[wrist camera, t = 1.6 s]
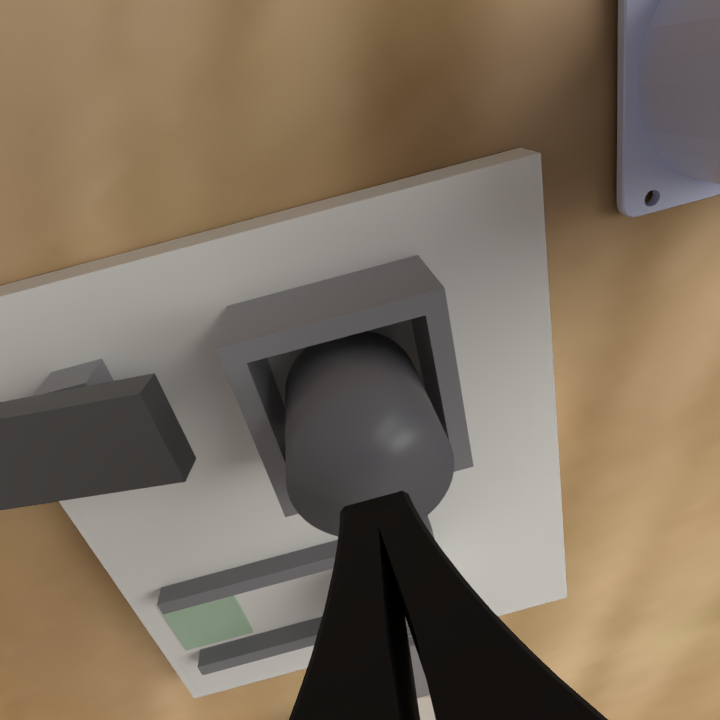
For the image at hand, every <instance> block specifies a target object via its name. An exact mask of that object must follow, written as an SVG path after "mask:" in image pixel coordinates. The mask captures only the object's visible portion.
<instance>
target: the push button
mask: <svg viewBox="0 0 720 720" xmlns="http://www.w3.org/2000/svg"><path fill="white" fill-rule="evenodd" d="M285 437H286V488H287V492H288V496H289V499H290V501H291V503H292V505H293V507H294V508H295V510H296V511H297V512H298V514H299V515H300V516H301V517H302V518H303V519H304V520H305V521H307V522H308V523H309V524H311V525H312V526H314V527H315V528H317V529H319V530H321V531H323V532H325V533H328V534H331V535H334V536H338V535H339V525H340V511H341V510H342V509H343V507H344V506H348V505H351V504H355V503H359V502H362V501H366V500H370V499H374V498H377V497H381V496H385V495H388V494H392V493H396V492H399V491H404V492H406V493H408V494H409V496H410V498H411V501H412V503H413V505H414V507H415V509H416V510H417V512H418V514H419V516H420V517H421V519H424V518H425V517H426V516H427V515H428V514H430V513H431V512H432V511H433V510H434V509H435V508H436V507H437V506H438V505H439V503H440V502H441V501H442V499H443V498H444V496H445V495H446V493H447V491H448V489H449V487H450V484H451V481H452V478H453V473H454V454H453V450H452V446H451V444H450V442H449V440H448V438H447V435H446V433H445V431H444V429H443V427H442V425H441V423H440V421H439V418H438V416H437V414H436V412H435V410H434V408H433V406H432V403H431V401H430V399H429V397H428V395H427V393H426V391H425V388H424V386H423V384H422V382H421V380H420V378H419V376H418V374H417V371H416V369H415V367H414V365H413V363H412V361H411V359H410V357H409V356H408V354H407V353H406V352H405V350H404V349H403V348H402V347H401V346H400V345H398V344H397V343H396V342H395V341H393V340H392V339H390V338H388V337H386V336H384V335H382V334H379V333H376V332H372V331H365V332H361V333H358V334H354V335H350V336H346V337H343V338H339V339H335V340H332V341H328V342H324V343H320V344H317V345H313V346H309V347H307V348H305V349H304V350H303V351H302V352H301V353H300V355H299V356H298V357H297V358H296V360H295V361H294V363H293V364H292V366H291V368H290V370H289V373H288V376H287V380H286V387H285Z"/></svg>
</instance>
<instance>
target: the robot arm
mask: <svg viewBox="0 0 720 720" xmlns="http://www.w3.org/2000/svg"><path fill="white" fill-rule="evenodd" d="M651 190H652V193H653V195H652V198H651V200H650V201H649V202H648V203H646V204H645V201H644V200H645V196H646V195H647V193H648V192H650V191H651ZM716 195H720V0H618V89H617V208H618V210H619V212H620V213H621V214H623V215H626V216H629V217H638V216H642V215H645V214H649V213H653V212H657V211H660V210H664V209H668V208H672V207H675V206H679V205H683V204H687V203H690V202H694V201H698V200H701V199H705V198H709V197H713V196H716ZM405 617H406V619H405ZM406 620H407V623H408V626H409V629H410V632H411V635H412V638H413V641H414V644H415V647H416V650H417V653H418V656H419V659H420V662H421V665H422V668H423V671H424V674H425V677H426V680H427V684H428V689H429V693H430V697H431V701H432V706H433V710H434V714H435V719H436V720H608V719H606V718H605V717H604V716H603V715H602V714H601V713H600V712H598V711H597V710H596V709H595V708H594V707H593V706H591V705H590V704H589V703H588V702H587V701H586V700H585V699H583V698H582V697H581V696H580V695H579V694H578V693H576V692H575V691H574V690H573V689H572V688H571V687H570V686H568V685H567V684H566V683H565V682H564V681H563V680H561V679H560V678H559V677H558V676H557V675H556V674H555V673H554V672H553V671H552V670H551V669H550V668H549V667H548V666H547V665H545V664H544V663H543V662H542V661H541V660H540V659H539V658H538V657H537V656H536V655H535V654H534V653H533V652H532V651H531V650H530V649H529V648H528V647H527V646H526V645H525V644H524V643H523V642H522V641H521V640H520V639H519V638H518V637H517V636H516V635H515V634H514V633H513V632H512V631H511V630H510V629H509V628H508V627H507V626H506V625H505V624H504V623H503V622H502V621H501V620H500V618H499V617H498V616H497V615H496V614H495V613H494V612H493V611H492V610H491V609H490V608H489V606H488V605H487V604H486V603H485V602H484V601H483V600H482V598H481V597H480V596H479V595H478V594H477V593H476V592H475V590H474V589H473V588H472V587H471V586H470V584H469V583H468V582H467V581H466V580H465V578H464V577H463V576H462V575H461V574H460V572H459V571H458V570H457V568H456V567H455V566H454V564H453V563H452V562H451V561H450V559H449V558H448V557H447V555H446V554H445V553H444V552H443V550H442V549H441V547H440V546H439V545H438V543H437V542H436V540H435V539H434V538H433V536H432V535H431V533H430V532H429V530H428V529H427V527H426V526H425V524H424V522H423V521H422V519H421V517H420V516H419V514H418V512H417V510H416V509H415V507H414V505H413V503H412V501H411V498H410V496H409V494H408V493H406V492H404V491H399V492H396V493H392V494H388V495H385V496H381V497H377V498H374V499H370V500H366V501H362V502H359V503H355V504H351V505H348V506H344V507H343V509H342V510H341V511H340V525H339V535H338V543H337V550H336V555H335V561H334V567H333V572H332V577H331V581H330V586H329V590H328V595H327V600H326V604H325V608H324V612H323V616H322V619H321V623H320V626H319V630H318V633H317V637H316V641H315V644H314V648H313V651H312V655H311V658H310V661H309V664H308V667H307V670H306V673H305V676H304V679H303V682H302V685H301V688H300V691H299V694H298V696H297V699H296V702H295V705H294V708H293V710H292V713H291V716H290V718H289V720H420V715H419V708H418V701H417V694H416V687H415V680H414V674H413V667H412V660H411V653H410V646H409V640H408V633H407V626H406Z"/></svg>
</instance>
